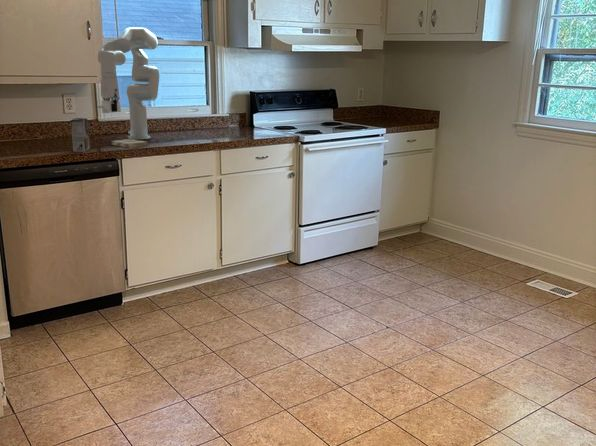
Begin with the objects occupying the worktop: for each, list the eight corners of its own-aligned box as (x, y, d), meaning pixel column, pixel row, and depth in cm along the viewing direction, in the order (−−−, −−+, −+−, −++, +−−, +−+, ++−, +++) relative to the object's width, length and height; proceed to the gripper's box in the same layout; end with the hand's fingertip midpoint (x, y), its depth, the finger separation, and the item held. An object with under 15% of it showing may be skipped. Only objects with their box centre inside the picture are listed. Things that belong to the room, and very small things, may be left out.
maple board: (111, 144, 332) (111, 141, 332) (129, 142, 341) (129, 138, 341) (129, 147, 323) (129, 144, 322) (147, 145, 332) (147, 141, 332)
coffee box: (77, 148, 317) (75, 117, 312) (90, 149, 317) (87, 118, 313) (72, 151, 308) (70, 119, 303) (85, 151, 308) (83, 120, 304)
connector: (97, 112, 315) (96, 101, 313) (117, 110, 325) (116, 99, 323) (102, 113, 313) (101, 101, 311) (122, 111, 322) (121, 100, 320)
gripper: (93, 75, 316) (96, 110, 321) (112, 76, 306) (115, 113, 311) (105, 74, 322) (108, 109, 327) (124, 76, 312) (127, 111, 317)
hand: (111, 110), depth 319 cm, fingers closed on connector, 4 cm apart
